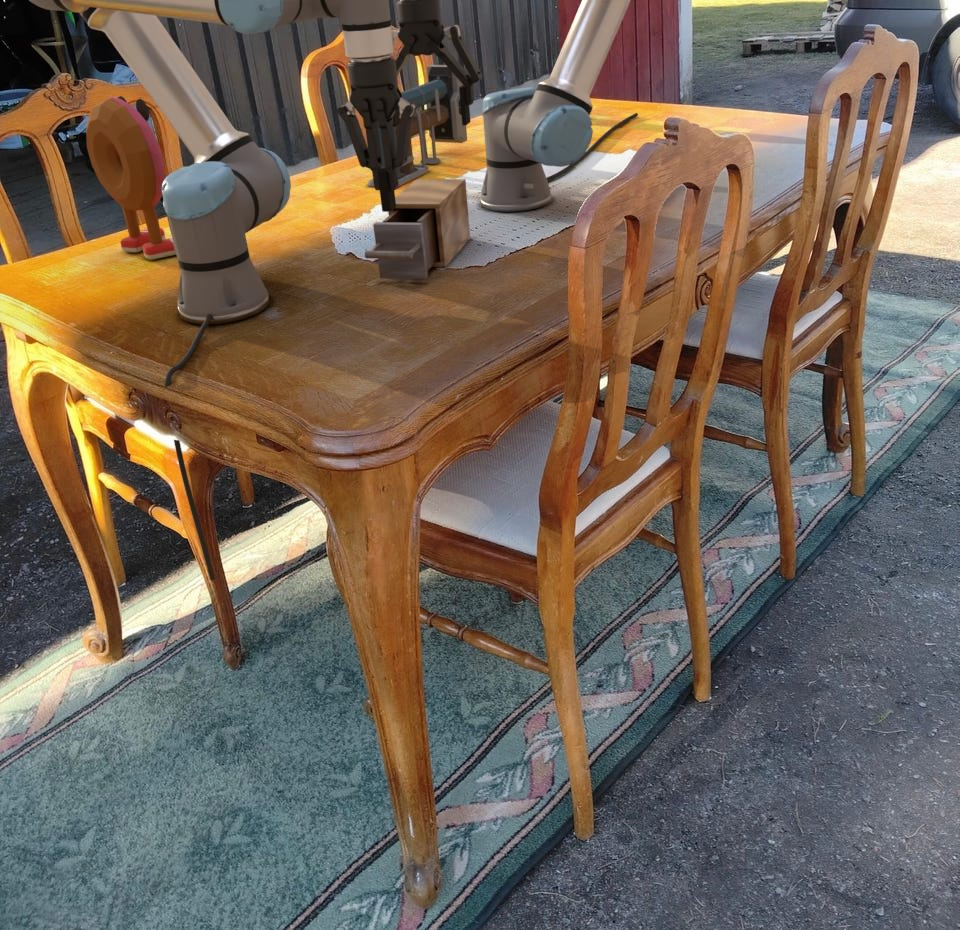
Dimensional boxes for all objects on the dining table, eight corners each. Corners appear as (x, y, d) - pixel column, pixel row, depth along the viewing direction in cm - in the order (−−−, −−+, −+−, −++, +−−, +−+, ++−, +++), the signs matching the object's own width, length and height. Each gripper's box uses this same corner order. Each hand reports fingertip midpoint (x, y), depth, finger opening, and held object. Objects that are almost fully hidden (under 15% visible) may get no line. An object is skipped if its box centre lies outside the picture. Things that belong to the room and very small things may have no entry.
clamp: (395, 188, 226) (384, 92, 216) (364, 185, 230) (352, 91, 219) (468, 152, 252) (461, 65, 241) (439, 150, 256) (431, 64, 245)
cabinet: (445, 267, 176) (439, 203, 170) (394, 266, 179) (387, 203, 173) (470, 238, 190) (465, 179, 184) (423, 237, 192) (416, 179, 186)
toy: (206, 251, 195) (170, 95, 179) (161, 266, 188) (121, 105, 173) (151, 235, 208) (114, 87, 192) (108, 248, 202) (66, 97, 186)
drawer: (415, 291, 164) (409, 235, 159) (368, 290, 166) (360, 234, 161) (451, 250, 181) (447, 199, 176) (408, 250, 183) (402, 198, 178)
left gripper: (418, 52, 151) (433, 203, 163) (341, 55, 154) (361, 202, 166) (402, 60, 145) (418, 216, 157) (322, 63, 148) (344, 215, 160)
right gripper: (493, -11, 166) (501, 118, 177) (358, -2, 173) (375, 121, 183) (481, -5, 160) (491, 127, 171) (342, 3, 166) (360, 130, 177)
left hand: (389, 209), depth 161 cm, fingers closed
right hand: (431, 124), depth 177 cm, fingers open, 13 cm apart
